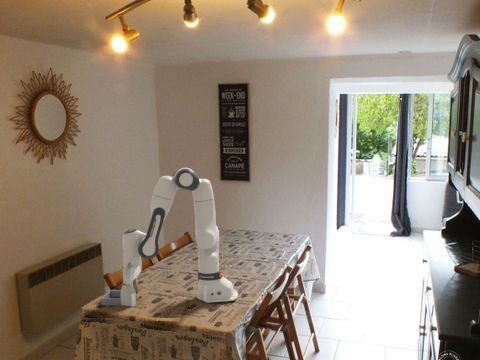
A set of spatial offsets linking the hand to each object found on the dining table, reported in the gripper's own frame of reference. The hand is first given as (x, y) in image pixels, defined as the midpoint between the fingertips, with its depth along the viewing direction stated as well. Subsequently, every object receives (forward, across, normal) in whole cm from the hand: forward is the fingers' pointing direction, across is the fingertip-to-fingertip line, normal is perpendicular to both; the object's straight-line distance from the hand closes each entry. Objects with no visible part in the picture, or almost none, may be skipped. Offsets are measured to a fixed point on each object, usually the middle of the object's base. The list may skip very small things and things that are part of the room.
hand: (133, 286), depth 220 cm
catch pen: (+8, 0, +10) cm, 13 cm away
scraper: (+7, 0, -1) cm, 7 cm away
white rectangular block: (+8, -5, +1) cm, 9 cm away
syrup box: (+8, +25, +9) cm, 28 cm away
